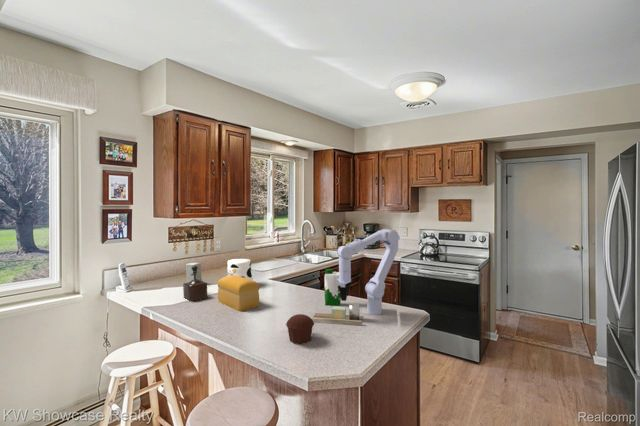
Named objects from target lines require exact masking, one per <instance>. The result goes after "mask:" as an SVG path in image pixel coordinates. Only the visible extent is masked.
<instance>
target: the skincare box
mask: <svg viewBox="0 0 640 426" xmlns="http://www.w3.org/2000/svg"><path fill="white" fill-rule="evenodd" d="M193 266H197V267H198V269H197V273H196V279H198V280H200V278H201V280H202V270H201V269H202V268H201V263H200V262H190V263H189V262H188V263H186V264H185V274H186V275H185V276H186V283H188V282H190V281H192V280H194V275H193V276H191V275H190V274H193V270H192V269H191V268H192V267H193ZM202 281H203V280H202Z"/></svg>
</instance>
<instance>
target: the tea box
mask: <svg viewBox="0 0 640 426" xmlns="http://www.w3.org/2000/svg"><path fill="white" fill-rule="evenodd" d="M331 314H332V319H346V315H347V307H346V306H340V305H339V306H332V308H331Z"/></svg>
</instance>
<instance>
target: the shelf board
mask: <svg viewBox="0 0 640 426" xmlns="http://www.w3.org/2000/svg"><path fill="white" fill-rule="evenodd" d="M309 317H310V318H311V319H312V320H313V322H314V323H321V324H334V325H347V326H348V325H349V326H360V327H361V326H362V325H363V320H364V315H362V316H361V315H360V320H349V314H348V315H347V314H346V319H332V313H323V312H322V313H320V312H316V313H314V315H313V316H309Z"/></svg>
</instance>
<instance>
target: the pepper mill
mask: <svg viewBox="0 0 640 426" xmlns="http://www.w3.org/2000/svg"><path fill="white" fill-rule="evenodd" d="M191 269H192V270H193V274H190V275H191V276H193V275H194V280H192V281H190V282H188V283H187V282H185V283H183V284H182V286H183V287H182V288H183V289H182V290H183V299H184V298H185V299H187V300H189V301H188V302H190V301H193V302H196V300H198V301H201V300H200V299H202V300H205V299H204V298H206V299H208V298H207V297H208V283H207V282H205V281H204V280H201V278H202V277H201V278H200V280H198V279H196V273H197V269H198V267H197V266H193V267H192V268H191ZM185 299H184V300H185ZM187 300H186V301H187Z"/></svg>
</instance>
